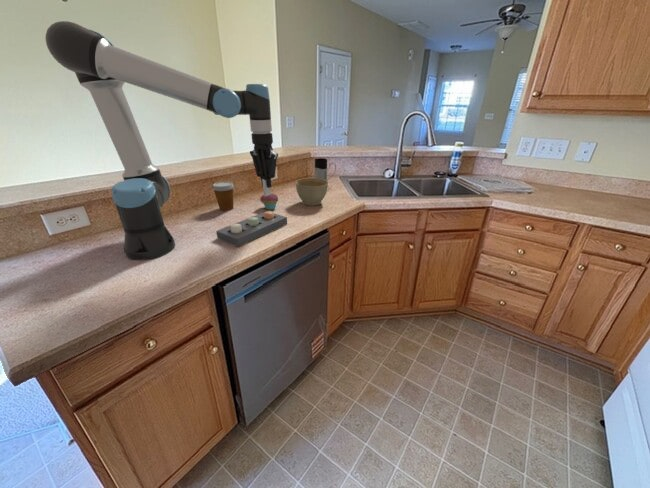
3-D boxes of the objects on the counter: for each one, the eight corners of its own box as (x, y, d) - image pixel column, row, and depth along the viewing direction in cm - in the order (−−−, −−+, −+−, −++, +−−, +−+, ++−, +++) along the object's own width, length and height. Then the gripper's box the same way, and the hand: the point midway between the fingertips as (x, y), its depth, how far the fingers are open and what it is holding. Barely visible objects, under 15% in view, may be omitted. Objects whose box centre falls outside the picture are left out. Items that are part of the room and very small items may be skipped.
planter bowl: (302, 210, 136) (302, 187, 131) (292, 200, 149) (291, 179, 144) (333, 205, 142) (333, 184, 137) (320, 196, 155) (320, 176, 150)
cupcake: (282, 207, 138) (281, 183, 133) (268, 212, 133) (266, 187, 127) (271, 203, 143) (269, 180, 138) (257, 207, 138) (254, 183, 132)
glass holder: (317, 181, 183) (317, 157, 176) (338, 184, 178) (338, 159, 171) (311, 184, 176) (311, 160, 169) (332, 187, 171) (333, 162, 164)
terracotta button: (269, 223, 117) (268, 215, 115) (262, 221, 119) (261, 213, 118) (276, 220, 120) (275, 212, 118) (269, 218, 122) (268, 210, 120)
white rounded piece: (236, 237, 105) (234, 228, 103) (229, 234, 107) (227, 226, 105) (244, 233, 108) (243, 225, 106) (237, 231, 110) (236, 223, 108)
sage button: (253, 230, 111) (252, 221, 109) (246, 227, 113) (245, 219, 111) (261, 226, 114) (260, 218, 112) (254, 224, 116) (253, 216, 114)
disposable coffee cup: (230, 212, 132) (227, 187, 126) (212, 211, 133) (207, 186, 128) (240, 206, 140) (237, 182, 134) (222, 204, 142) (218, 180, 136)
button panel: (238, 246, 101) (237, 239, 100) (217, 238, 107) (216, 230, 106) (287, 223, 121) (286, 217, 119) (267, 217, 127) (266, 211, 125)
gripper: (281, 132, 103) (285, 195, 114) (256, 130, 110) (262, 190, 121) (267, 134, 98) (272, 200, 109) (241, 132, 104) (249, 194, 115)
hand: (267, 194), depth 115 cm, fingers closed
